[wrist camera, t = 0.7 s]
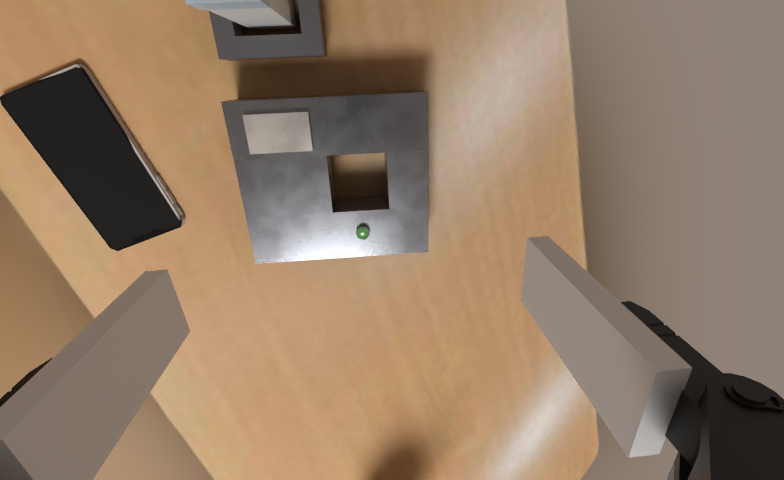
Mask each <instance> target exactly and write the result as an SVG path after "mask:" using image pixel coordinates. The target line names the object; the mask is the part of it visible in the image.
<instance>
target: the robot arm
mask: <svg viewBox="0 0 784 480" xmlns="http://www.w3.org/2000/svg"><path fill="white" fill-rule="evenodd" d="M521 301H522V302H523V304H524V305H525V306H526V308H527V309H528V311H529V312H530V314H531V315H532V317H533V318H534V320H535V321H536V323H537V324H538V326H539V327H540V328H541V330H542V331H543V333H544V334H545V336H546V337H547V339H548V340H549V342H550V343H551V345H552V346H553V347H554V349H555V350H556V352H557V353H558V355H559V356H560V358H561V359H562V361H563V362H564V364H565V365H566V367H567V368H568V369H569V371H570V372H571V374H572V375H573V377H574V378H575V380H576V381H577V383H578V384H579V386H580V387H581V389H582V390H583V391H584V393H585V394H586V396H587V397H588V399H589V400H590V402H591V403H592V405H593V406H594V408H595V409H596V411H597V412H598V413H599V415H600V416H601V418H602V419H603V421H604V422H605V423H606V425H607V427H608V428H609V429H610V431H611V432H612V434H613V435H614V437H615V438H616V440H617V441H618V443H619V444H620V446H621V447H622V449H623V450H624V452H626V454H627V456H628V457H637V456H646V455H655V454H660V451H661V448H662V446H663V443H664V441H665V438H666V437H667V438H668V439H669V441H670V442H671V443H672V444H673V445H674V447H675V448H676V449H677V450H678V454H677V456H676V459H675V461H674V463H673V466H672V468H671V471H670V473H669V475H668V478H667V480H784V399H783V398H781V397H780V396H779V395H778V394H777V393H776V392H775V391H773V390H771V389H770V388H768V387H766V386H765V385H763V384H761V383H759V382H757V381H754V380H752V379H749V378H746V377H744V376H739V375H735V374H730V373H722V372H721V371H720V370H718V369H717V368H716V367H715V366H714V365H712V364H711V363H710V362H709V361H708V360H707V359H705V358H704V357H703V356H702V355H701V354H700V353H698V352H697V351H696V350H695V349H694V348H692V347H691V346H690V345H689V344H688V343H687V342H685V341H684V340H683V339H682V338H681V337H679V336H676V335H675V332H674V331H672V330H671V329H670V328H669V327H668V326H667V325H665V326H664V324H663V322H662V321H661V320H659V319H658V318H657V317H656V316H655V315H653V314H652V313H651V312H650V311H649V310H647V309H645V308H643V307H641V306H639V305H637V304H635V303H633V302H631V301H627V302H620V301H618V300H617V299H616V298H615V297H614V296H613V295H612V294H611V293H609V292H608V291H607V290H606V289H605V288H604V287H603V286H602V285H601V284H599V283H598V281H596V280H595V279H594V278H593V277H592V276H591V275H590V274H589V273H588V272H587V271H585V270H584V269H583V268H582V267H581V266H580V265H579V264H578V263H577V262H576V261H574V260H573V259H572V258H571V257H570V256H569V255H568V254H567V253H566V252H565V251H563V250H562V249H561V248H560V247H559V246H558V245H557V244H556V243H555V242H554V241H552V240H551V239H550V238H549V237H548V236H543V237H532V238H527V247H526V256H525V265H524V275H523V284H522V293H521ZM189 332H190V329H189V326H188V324H187V321H186V318H185V316H184V313H183V310H182V308H181V305H180V302H179V300H178V297H177V294H176V292H175V289H174V286H173V284H172V281H171V278H170V276H169V273H168V270H157V271H146V272H144V273H143V274H142V275H141V276H140V277H139V278H138V279H137V280H136V281H135V282H134V283H133V284H131V285H130V286H129V287H128V288H127V289H126V290H125V291H124V292H123V293H122V294H121V295H120V296H119V297H118V298H117V299H115V300H114V301H113V302H112V303H111V304H110V305H109V306H108V307H107V308H106V309H105V310H104V311H103V312H102V313H100V314H99V315H98V316H97V317H96V318H95V319H94V320H93V321H92V322H91V323H90V324H89V325H88V326H87V327H86V328H84V329H83V330H82V331H81V332H80V333H79V334H78V335H77V336H76V337H75V338H74V339H73V340H72V341H71V342H70V343H68V344H67V345H66V346H65V347H64V348H63V349H62V350H61V351H60V352H59V353H58V354H57V355H56V356H55V357H54V358H51V359H50V360H48V361H46V362H45V363H43V364H42V365H40V366H39V367H37V368H35V369H34V370H32V371H31V372H29V373H28V374H27V375H26V376H25V377H24V378H23V379H22V380H20V381H19V382H18V383H17V384H16V385H15V386H14V387H13V388H12V391H11V392H7V393H6V394H5V395H4V396H3V397H2V398H1V399H0V480H93V478H94V477H95V475H96V473H97V472H98V471H99V469H100V467H101V466H102V464H103V463H104V461H105V460H106V458H107V457H108V455H109V454H110V452H111V451H112V449H113V448H114V446H115V445H116V443H117V442H118V440H119V438H120V437H121V436H122V434H123V433H124V431H125V429H126V428H127V426H128V425H129V423H130V422H131V420H132V419H133V417H134V416H135V414H136V413H137V411H138V410H139V408H140V407H141V405H142V403H143V402H144V401H145V399H146V397H147V396H148V394H149V393H150V391H151V390H152V388H153V387H154V385H155V384H156V382H157V381H158V379H159V378H160V376H161V375H162V373H163V372H164V370H165V369H166V367H167V365H168V364H169V362H170V361H171V359H172V358H173V356H174V355H175V353H176V352H177V350H178V349H179V347H180V346H181V344H182V343H183V341H184V340H185V338H186V337H187V335H188V333H189Z"/></svg>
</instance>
